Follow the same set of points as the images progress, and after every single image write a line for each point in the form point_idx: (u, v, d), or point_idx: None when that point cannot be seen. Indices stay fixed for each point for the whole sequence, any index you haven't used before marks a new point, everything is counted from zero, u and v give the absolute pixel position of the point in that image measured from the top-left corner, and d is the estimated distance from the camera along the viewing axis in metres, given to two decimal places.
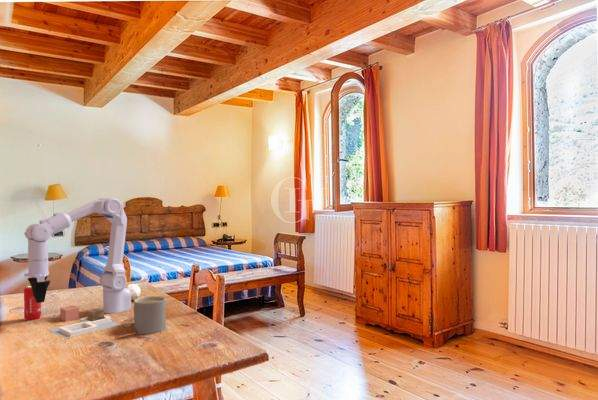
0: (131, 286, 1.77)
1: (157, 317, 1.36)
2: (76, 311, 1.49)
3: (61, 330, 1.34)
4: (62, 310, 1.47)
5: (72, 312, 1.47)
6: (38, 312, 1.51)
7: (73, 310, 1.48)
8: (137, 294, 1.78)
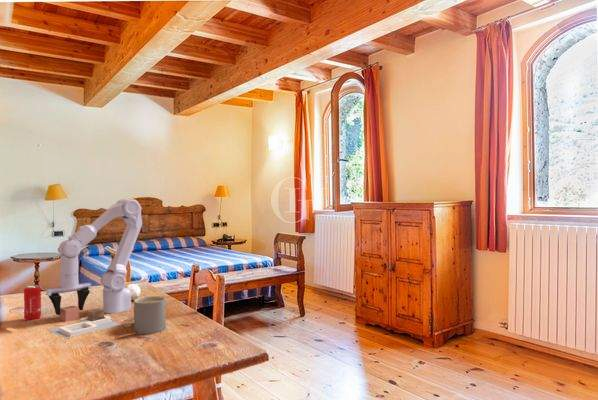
0: (131, 286, 1.77)
1: (157, 317, 1.36)
2: (76, 311, 1.49)
3: (61, 330, 1.34)
4: (62, 310, 1.47)
5: (72, 312, 1.47)
6: (38, 312, 1.51)
7: (73, 310, 1.48)
8: (137, 294, 1.78)
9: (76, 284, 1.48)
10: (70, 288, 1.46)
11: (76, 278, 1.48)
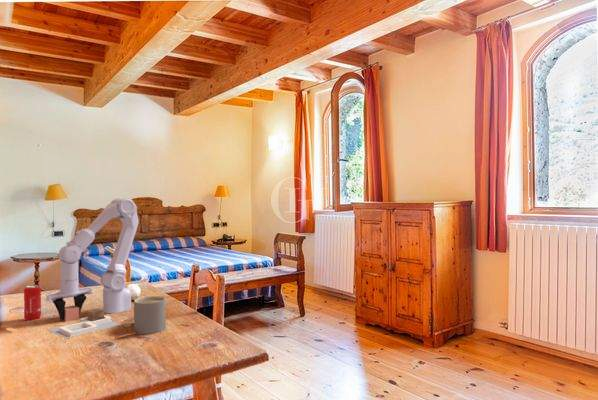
0: (131, 286, 1.77)
1: (157, 317, 1.36)
2: (76, 311, 1.49)
3: (61, 330, 1.34)
4: None
5: (72, 312, 1.47)
6: (38, 312, 1.51)
7: (73, 310, 1.48)
8: (137, 294, 1.78)
9: (76, 290, 1.48)
10: (70, 294, 1.46)
11: (76, 284, 1.48)
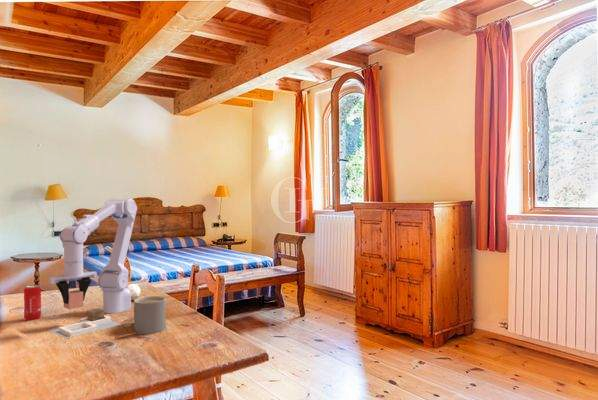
0: (131, 286, 1.77)
1: (157, 317, 1.36)
2: (80, 295, 1.41)
3: (61, 330, 1.34)
4: None
5: (76, 296, 1.40)
6: (38, 312, 1.51)
7: (77, 294, 1.40)
8: (137, 294, 1.78)
9: (81, 272, 1.41)
10: (74, 276, 1.39)
11: (81, 266, 1.41)
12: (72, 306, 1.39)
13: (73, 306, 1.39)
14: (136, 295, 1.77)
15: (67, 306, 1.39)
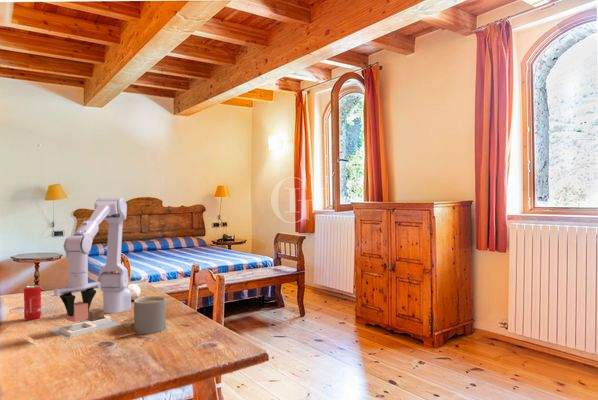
0: (131, 286, 1.77)
1: (157, 317, 1.36)
2: (85, 307, 1.36)
3: (61, 330, 1.34)
4: None
5: (81, 308, 1.35)
6: (38, 312, 1.51)
7: (82, 306, 1.35)
8: (137, 294, 1.78)
9: (86, 283, 1.35)
10: (80, 287, 1.33)
11: (86, 276, 1.35)
12: (77, 319, 1.34)
13: (78, 319, 1.34)
14: (136, 295, 1.77)
15: (72, 319, 1.34)
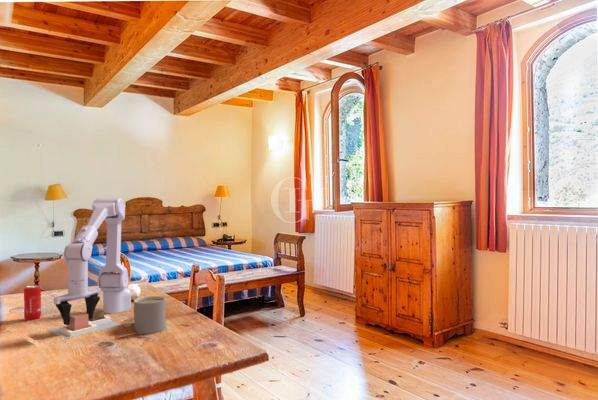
0: (131, 286, 1.77)
1: (157, 317, 1.36)
2: (86, 318, 1.36)
3: (61, 330, 1.34)
4: (70, 317, 1.34)
5: (81, 319, 1.35)
6: (38, 312, 1.51)
7: (82, 317, 1.35)
8: (137, 294, 1.78)
9: (86, 291, 1.35)
10: (80, 295, 1.33)
11: (86, 284, 1.35)
12: None
13: None
14: (136, 295, 1.77)
15: (72, 330, 1.34)
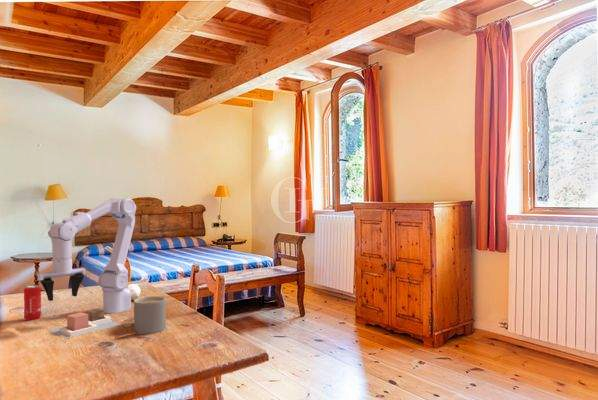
0: (131, 286, 1.77)
1: (157, 317, 1.36)
2: (86, 318, 1.36)
3: (61, 330, 1.34)
4: (70, 317, 1.34)
5: (81, 319, 1.35)
6: (38, 312, 1.51)
7: (82, 317, 1.35)
8: (137, 294, 1.78)
9: (69, 269, 1.41)
10: (63, 273, 1.39)
11: (69, 262, 1.41)
12: None
13: None
14: (136, 295, 1.77)
15: (72, 330, 1.34)
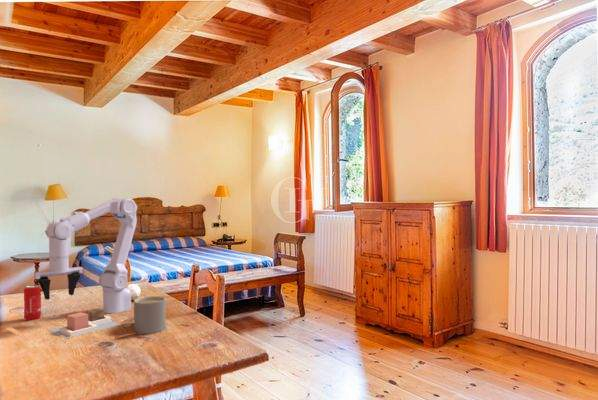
0: (131, 286, 1.77)
1: (157, 317, 1.36)
2: (86, 318, 1.36)
3: (61, 330, 1.34)
4: (70, 317, 1.34)
5: (81, 319, 1.35)
6: (38, 312, 1.51)
7: (82, 317, 1.35)
8: (137, 294, 1.78)
9: (66, 267, 1.42)
10: (60, 271, 1.40)
11: (66, 261, 1.42)
12: None
13: None
14: (136, 295, 1.77)
15: (72, 330, 1.34)
